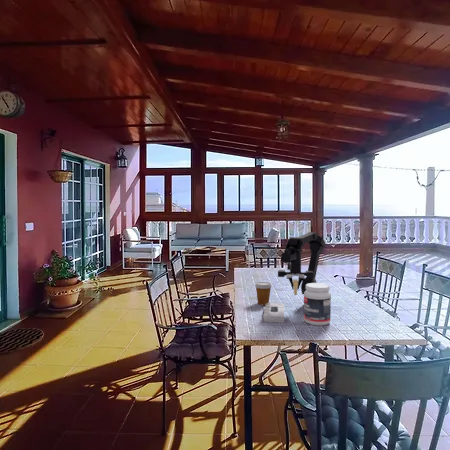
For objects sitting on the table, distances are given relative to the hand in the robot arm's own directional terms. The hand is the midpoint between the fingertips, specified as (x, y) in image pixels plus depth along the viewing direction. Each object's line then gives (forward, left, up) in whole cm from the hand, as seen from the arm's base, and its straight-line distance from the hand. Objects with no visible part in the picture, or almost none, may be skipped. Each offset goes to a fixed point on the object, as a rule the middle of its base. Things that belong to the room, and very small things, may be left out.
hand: (295, 289), depth 191 cm
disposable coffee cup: (+18, -15, -12) cm, 26 cm away
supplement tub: (-10, +15, -12) cm, 22 cm away
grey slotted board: (+11, +6, -12) cm, 18 cm away
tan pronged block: (0, 0, -2) cm, 2 cm away
